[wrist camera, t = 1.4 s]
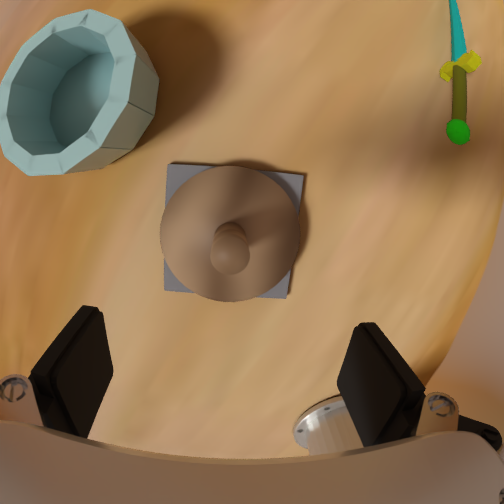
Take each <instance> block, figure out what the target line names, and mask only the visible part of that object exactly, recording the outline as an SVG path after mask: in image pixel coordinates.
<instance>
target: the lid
mask: <svg viewBox="0 0 504 504" xmlns="http://www.w3.org/2000/svg"><path fill="white" fill-rule="evenodd" d="M160 242H161V248H162V252H163V255H164V258H165V260H166V263H167V265H168V267H169V268H170V270H171V271H172V273H173V274H174V275H175V277H176V278H177V279H178V280H179V281H180V282H181V283H182V284H183V285H184V286H185V287H187V288H188V289H190V290H191V291H193V292H194V293H196V294H198V295H200V296H203V297H205V298H208V299H212V300H216V301H223V302H237V301H244V300H248V299H252V298H255V297H257V296H260V295H262V294H264V293H266V292H267V291H269V290H270V289H272V288H273V287H274V286H276V285H277V284H278V283H279V282H280V281H281V280H282V279H283V278H284V277H285V276H286V274H287V273H288V271H289V270H290V268H291V267H292V265H293V263H294V261H295V258H296V255H297V253H298V248H299V244H300V224H299V219H298V215H297V212H296V209H295V207H294V205H293V203H292V201H291V199H290V198H289V196H288V195H287V193H286V192H285V191H284V190H283V189H282V188H281V187H280V186H279V185H278V184H277V183H276V182H275V181H273V180H272V179H271V178H269V177H268V176H266V175H264V174H262V173H260V172H258V171H256V170H252V169H249V168H246V167H240V166H221V167H215V168H211V169H208V170H205V171H203V172H200V173H198V174H196V175H195V176H193V177H191V178H190V179H188V180H187V181H186V182H185V183H183V184H182V185H181V186H180V187H179V188H178V189H177V190H176V191H175V193H174V194H173V196H172V197H171V198H170V200H169V202H168V204H167V206H166V208H165V210H164V213H163V216H162V221H161V227H160Z"/></svg>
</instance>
